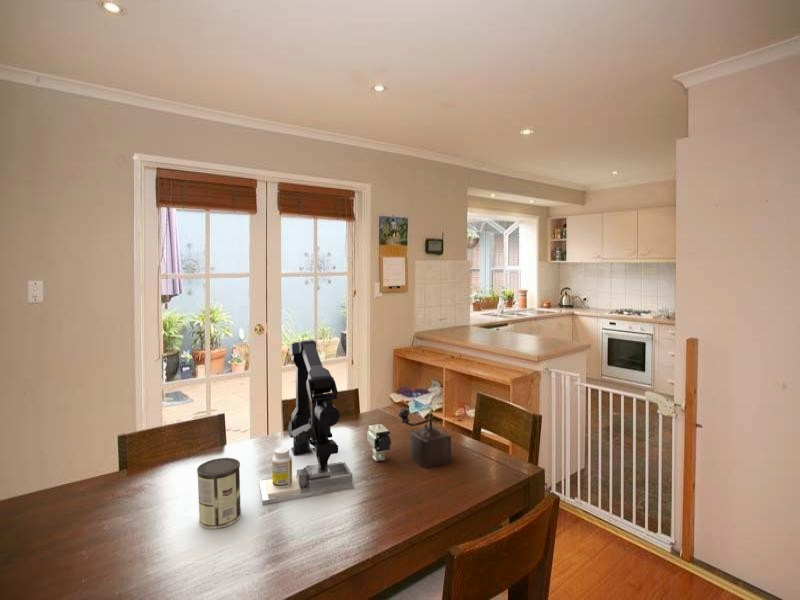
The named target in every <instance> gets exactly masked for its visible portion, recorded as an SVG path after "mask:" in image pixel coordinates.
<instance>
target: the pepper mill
mask: <svg viewBox="0 0 800 600" xmlns="http://www.w3.org/2000/svg"><path fill="white" fill-rule="evenodd" d="M397 414H398V417H399V418H400V419H401V423H402V424H406V425H408V426H410V427H417V426H421V425H423V424H425V425H424V427H422V428H419V429H418V430H417V429H416V430H412V431H410V456H409V457H410V458H411V459H412V461H413V460H414V462H415V463H416V464H417V465H418V466H419V465H420V466H419V467H421V468H422V469H424V468H427V469H432V467H433V468H438V467H441V465H442V466H446V465H449V464H451V463H452V461H451V460H452V436H451V435H449V434H448V433H446V432H445V431H443V430H442V429H440V428H438V427H436V426H433V420H434V414H433V413H432V412H430V413H428V418H427V419H425V420H422V421H420V422H419V421H418V422H415V423H413V422H410V419H409V415H410V411H409V409H407V408H405V407H404V408H401V409H400V410H398V412H397ZM428 422H429V426H428V424H426V423H428Z"/></svg>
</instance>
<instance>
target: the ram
mask: <svg viewBox="0 0 800 600" xmlns="http://www.w3.org/2000/svg"><path fill="white" fill-rule="evenodd" d="M328 464H329V462H327V464H326V466H325V468H324V469H321V468H320V463H319V458H318V460H317V463H316V464H310V465H305V468H306V469H304V468H300V469H297V470H296V476H297V480H298V483H299V486H300V485H306V484H309V480H315V479H321V478H327V477H330V470H329V468H328Z"/></svg>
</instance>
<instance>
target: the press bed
mask: <svg viewBox="0 0 800 600" xmlns="http://www.w3.org/2000/svg"><path fill="white" fill-rule="evenodd" d="M296 476H297V474H295V475H292V483H291V484H290V485H289V486H287V487H284V488H277V487H275V486H273V478H270V479H265V480H264V481H265V485H266V490H267V495H268V497H271V496H277V495H282V494H288V493H294V492H300V486H299V483H298V480H297V478H296Z"/></svg>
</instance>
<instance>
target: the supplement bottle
mask: <svg viewBox="0 0 800 600" xmlns="http://www.w3.org/2000/svg"><path fill="white" fill-rule="evenodd" d="M271 464H272V465H271V466H272V467H271V468H272V470H271V471H272V473H271V474H272V475H271V476H272V477H271V479H273V486H275V487H277V488H284V487H287V486H289V485H290V484H291V483H292V476H293V457H292V455H290V450H289V448H287V447H279V448H276V449H275V450H274V455H273V457H272V459H271Z"/></svg>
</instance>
